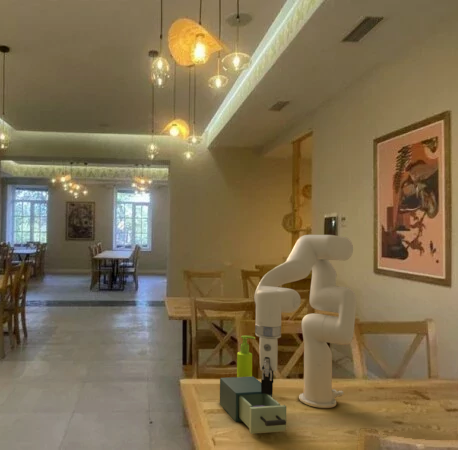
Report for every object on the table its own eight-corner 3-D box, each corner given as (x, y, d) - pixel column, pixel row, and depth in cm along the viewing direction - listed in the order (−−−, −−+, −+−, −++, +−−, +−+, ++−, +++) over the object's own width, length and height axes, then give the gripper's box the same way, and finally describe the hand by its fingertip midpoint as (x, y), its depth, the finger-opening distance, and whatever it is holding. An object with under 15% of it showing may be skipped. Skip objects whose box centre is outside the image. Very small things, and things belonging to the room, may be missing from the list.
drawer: (294, 438, 120) (294, 412, 120) (257, 441, 117) (258, 415, 118) (265, 412, 137) (266, 390, 138) (233, 414, 135) (233, 392, 135)
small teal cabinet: (272, 419, 134) (272, 391, 135) (235, 421, 132) (236, 393, 132) (252, 401, 149) (253, 376, 149) (219, 403, 146) (220, 377, 146)
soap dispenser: (254, 390, 160) (255, 338, 161) (236, 388, 162) (237, 337, 162) (254, 385, 166) (254, 334, 167) (236, 383, 167) (237, 333, 168)
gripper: (280, 338, 116) (280, 400, 115) (281, 326, 132) (280, 380, 132) (253, 335, 118) (252, 396, 118) (257, 324, 135) (256, 377, 134)
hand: (267, 387), depth 125 cm, fingers open, 9 cm apart
